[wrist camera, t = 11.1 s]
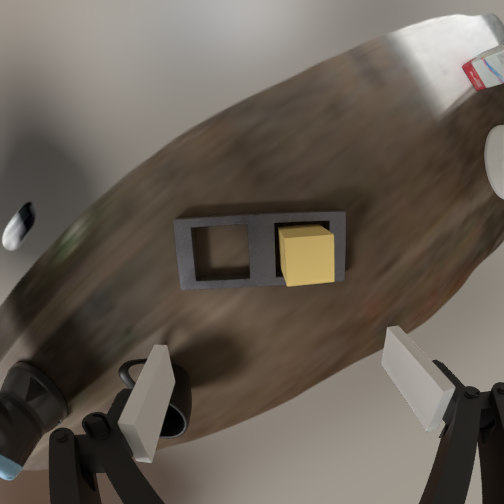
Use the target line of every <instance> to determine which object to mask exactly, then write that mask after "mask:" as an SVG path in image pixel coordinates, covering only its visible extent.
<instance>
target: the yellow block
mask: <svg viewBox="0 0 504 504" xmlns="http://www.w3.org/2000/svg"><path fill="white" fill-rule="evenodd" d="M278 239H279V254H280V267H281V270H282V273H283V276H284V279H285V282H286V284H287V286H298V285H308V284H318V283H327V282H334V234H332V233H331V232H330V231H328V230H327V229H325V228H324V227H322V226H321V225H319V224H310V225H297V226H284V227H278Z"/></svg>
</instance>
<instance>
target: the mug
mask: <svg viewBox="0 0 504 504" xmlns="http://www.w3.org/2000/svg"><path fill="white" fill-rule="evenodd" d="M147 359H148V358H147ZM147 359H137V360H131V361H127V362H125V363H124V364H123V365H122V366H121V367H120V368H119V376H120V378H121V379H122V381H123V382H124V383H125V385H126V386H127V387H128V388H129V389H133V388H134V386H135V384H136V383H135V382H134V381H133V380H132V378H131V377H130V375H129V373H128V369H129V368H130V367H131V366H133V365H136V364H145V363H146V361H147ZM171 366H172V370H173V374H174V378H175V384H174V388H173V391H172V394H171V398H170V401H169V404H168V408H167V411H166V414H165V418H164V421H163V425H162V428H161V432H160V435H159V438H166V439H169V438H176V437H179V436H181V435H182V434H184V433H185V431H186V430H187V428H188V424H189V420H190V415H191V408H192V395H191V388H190V383H189V376H188V374H187V372H186V371H185V370H184V369H183V368H182V367H180V366H178V365H176V364H173V363H171Z"/></svg>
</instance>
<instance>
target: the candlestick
mask: <svg viewBox="0 0 504 504" xmlns="http://www.w3.org/2000/svg"><path fill="white" fill-rule="evenodd" d="M484 159H485V168H486V173H487V176H488V179H489V182H490V184H491V187H492V188H493V190H494V192H495V193H496V194H497V195H498V196H499V197H500V198H502V199H504V125H498V126H495V127H494V128H492V129H491V131H490V132H489V134H488V136H487V139H486V143H485V151H484Z"/></svg>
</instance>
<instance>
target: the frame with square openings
mask: <svg viewBox="0 0 504 504" xmlns="http://www.w3.org/2000/svg"><path fill="white" fill-rule="evenodd" d="M302 221H325V229H327V230H328V231H330V232H331V233H332V234H334V282H335V281H344V278H345V249H346V211H343V210H310V211H284V212H261V213H242V214H225V215H209V216H194V217H181V218H176V219H174V220H173V226H174V236H175V245H176V254H177V263H178V271H179V279H180V287H181V290H187V289H214V288H237V287H257V286H275V285H287V284H286V282H285V279H284V276H283V273H282V272H276V268H275V238H274V223H278V222H302ZM239 224H247V227H248V246H249V264H250V274H233V275H211V276H198V266H197V256H196V246H195V235H194V227H205V226H221V225H239Z"/></svg>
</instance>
